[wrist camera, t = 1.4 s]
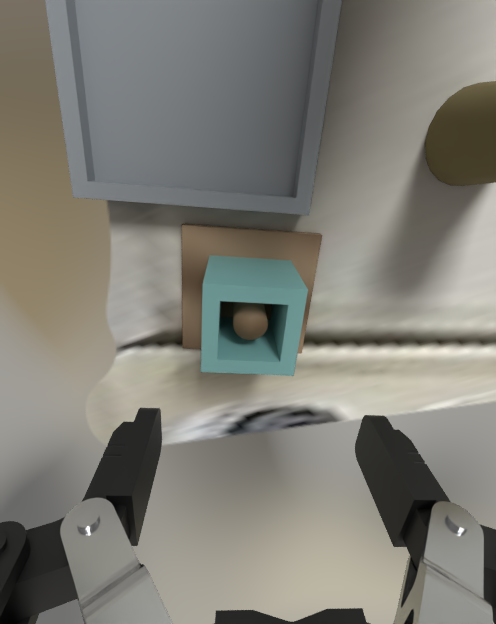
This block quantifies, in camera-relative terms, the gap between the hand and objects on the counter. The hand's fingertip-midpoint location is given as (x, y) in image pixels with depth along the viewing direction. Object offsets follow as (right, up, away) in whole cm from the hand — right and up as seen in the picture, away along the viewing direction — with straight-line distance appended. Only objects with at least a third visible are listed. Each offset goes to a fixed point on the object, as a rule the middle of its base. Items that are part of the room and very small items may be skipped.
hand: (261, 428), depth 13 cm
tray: (-4, +19, +7) cm, 20 cm away
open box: (-1, +6, +12) cm, 14 cm away
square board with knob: (-1, +6, +13) cm, 14 cm away
